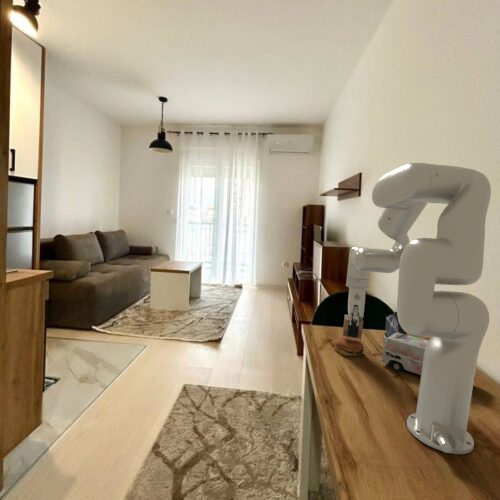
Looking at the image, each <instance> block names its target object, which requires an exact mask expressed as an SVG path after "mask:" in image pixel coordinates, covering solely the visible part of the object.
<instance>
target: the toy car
mask: <svg viewBox="0 0 500 500" xmlns="http://www.w3.org/2000/svg"><path fill="white" fill-rule="evenodd" d="M428 342H429V340H427V339H424V338H421V337H418V336H413V335H410V334H407V335H405V334H401V333H395V334H393V335H391V336H390V337H388V338H387V340H386V343H384V346H383V348H382V356H381V358H380V361H381V363H382V362H383V363H385V364H389V367H390V369H391V370H394V371H396V372H398V373H403V372H404V370H405V371H408V372H411V373H413V374H416V375H420V376H421V372H422V364H423V358H424V352H425V348H426V346H427V344H428ZM475 380H476V375H475V376H474V382H475Z"/></svg>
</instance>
